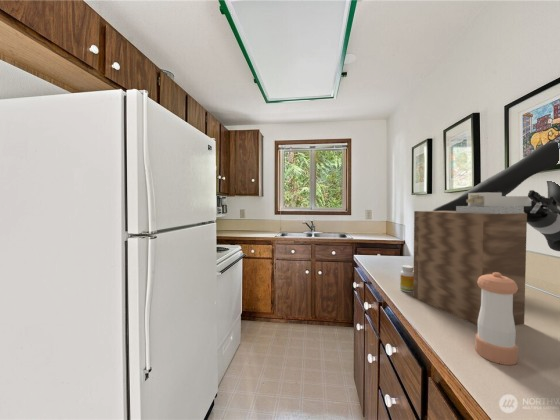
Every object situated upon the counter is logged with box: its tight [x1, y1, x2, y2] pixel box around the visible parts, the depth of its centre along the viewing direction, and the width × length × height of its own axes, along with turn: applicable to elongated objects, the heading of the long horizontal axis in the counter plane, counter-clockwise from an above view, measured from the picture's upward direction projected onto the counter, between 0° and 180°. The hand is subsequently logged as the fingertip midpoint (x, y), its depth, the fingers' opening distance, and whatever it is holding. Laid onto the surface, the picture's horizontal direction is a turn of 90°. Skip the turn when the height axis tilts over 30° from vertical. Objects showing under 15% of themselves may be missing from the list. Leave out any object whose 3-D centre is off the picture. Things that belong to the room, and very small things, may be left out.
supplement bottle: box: [399, 264, 414, 294], centre depth 99 cm, size 5×5×10 cm
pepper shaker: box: [474, 272, 518, 366], centre depth 57 cm, size 7×7×19 cm
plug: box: [466, 192, 532, 206], centre depth 76 cm, size 5×22×4 cm, turn 106°
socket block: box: [456, 206, 524, 214], centre depth 75 cm, size 11×12×2 cm
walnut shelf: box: [412, 210, 528, 327], centre depth 82 cm, size 26×14×32 cm, turn 16°
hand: (513, 193), depth 77 cm, fingers open, 8 cm apart
